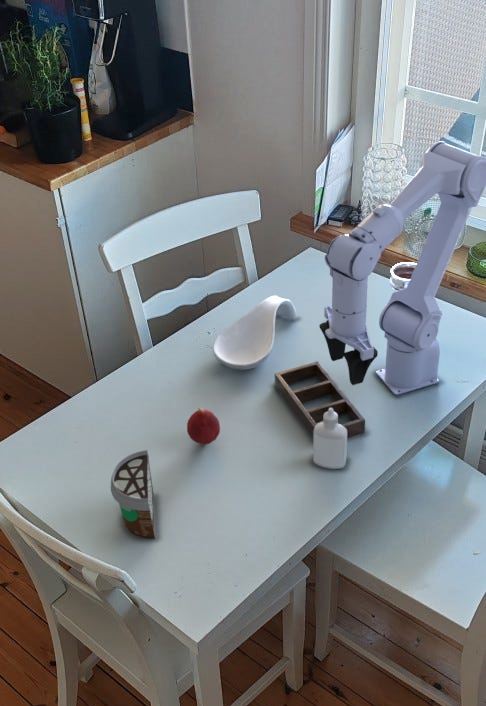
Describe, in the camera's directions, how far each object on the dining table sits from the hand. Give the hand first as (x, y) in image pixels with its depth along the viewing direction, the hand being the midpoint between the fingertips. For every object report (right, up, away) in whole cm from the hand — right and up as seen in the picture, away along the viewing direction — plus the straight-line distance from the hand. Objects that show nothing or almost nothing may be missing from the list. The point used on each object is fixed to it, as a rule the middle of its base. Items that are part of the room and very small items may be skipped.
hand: (346, 370), depth 162 cm
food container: (-36, -26, -10) cm, 45 cm away
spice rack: (-4, -6, +9) cm, 12 cm away
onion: (-25, -13, +4) cm, 28 cm away
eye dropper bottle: (-3, -16, -2) cm, 17 cm away
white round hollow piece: (+15, +12, +28) cm, 34 cm away
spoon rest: (-15, +7, +25) cm, 30 cm away
